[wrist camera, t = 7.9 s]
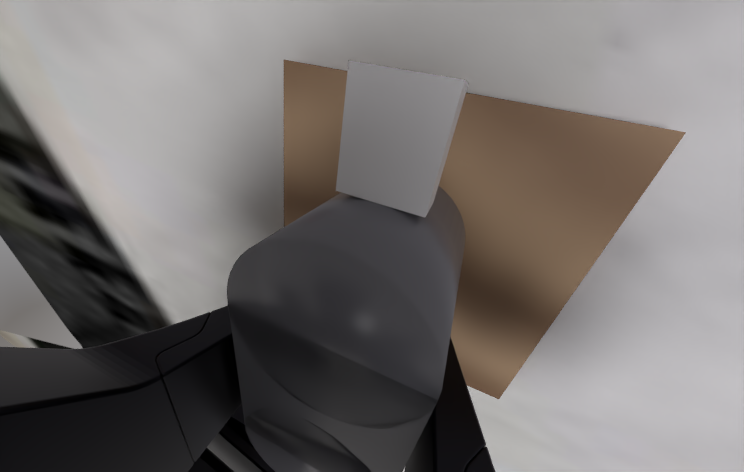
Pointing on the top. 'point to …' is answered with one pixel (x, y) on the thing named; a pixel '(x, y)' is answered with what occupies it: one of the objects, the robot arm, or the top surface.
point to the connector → (357, 289)
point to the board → (497, 205)
